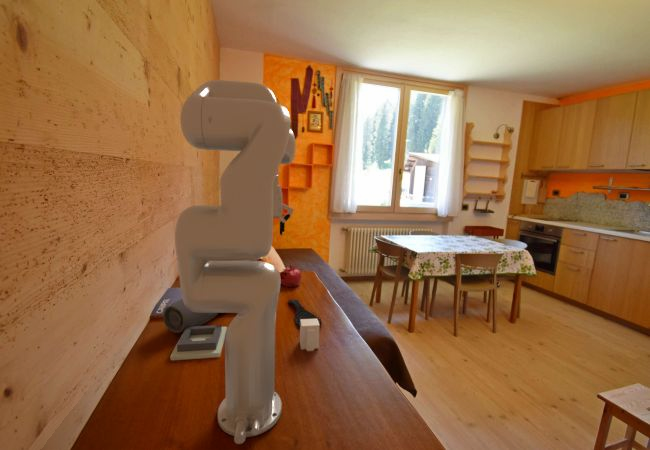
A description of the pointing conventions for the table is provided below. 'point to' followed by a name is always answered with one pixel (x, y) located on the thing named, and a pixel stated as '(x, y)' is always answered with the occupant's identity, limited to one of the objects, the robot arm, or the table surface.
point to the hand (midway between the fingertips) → (266, 234)
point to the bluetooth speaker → (183, 317)
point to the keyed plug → (309, 334)
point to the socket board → (200, 342)
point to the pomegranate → (290, 277)
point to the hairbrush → (302, 313)
